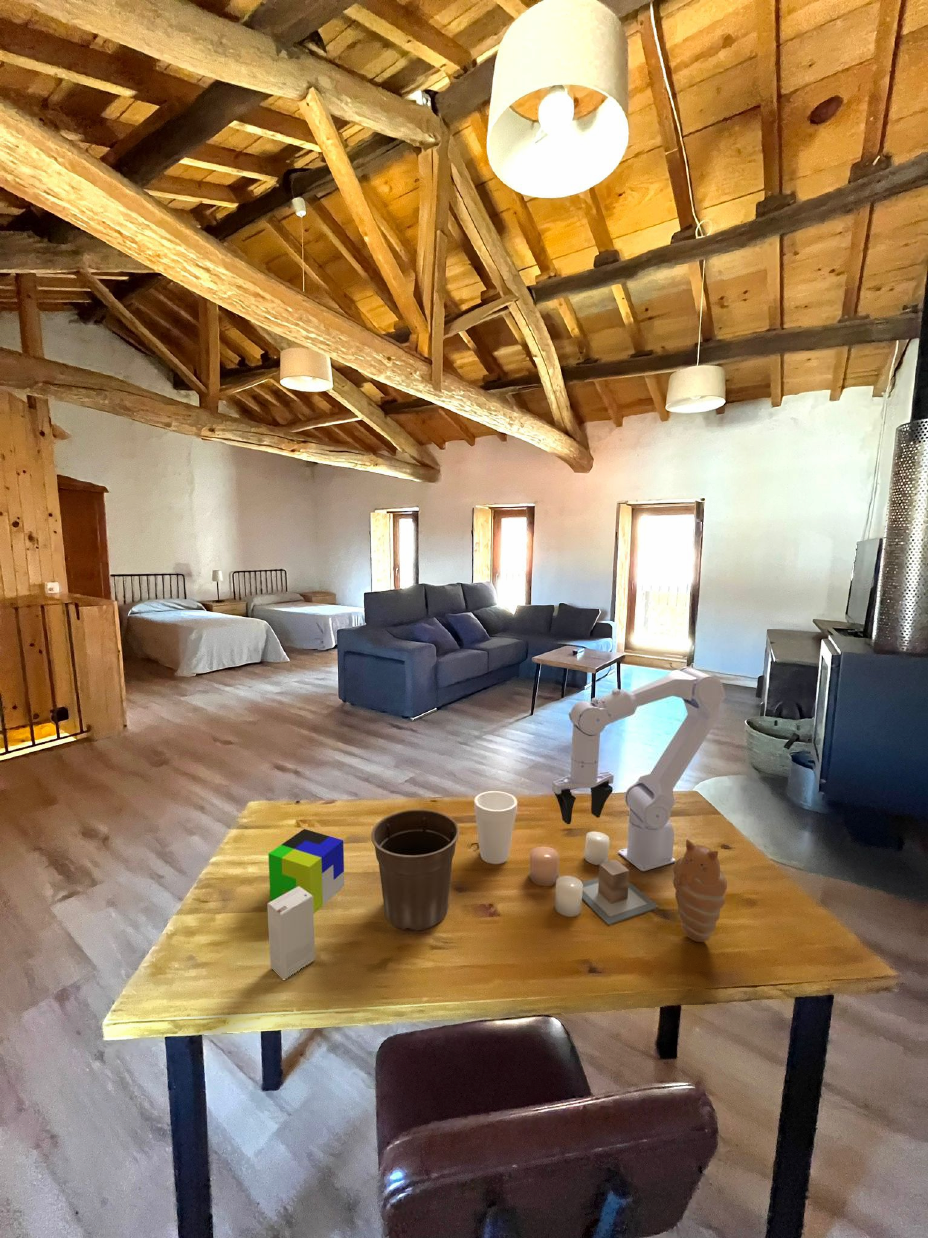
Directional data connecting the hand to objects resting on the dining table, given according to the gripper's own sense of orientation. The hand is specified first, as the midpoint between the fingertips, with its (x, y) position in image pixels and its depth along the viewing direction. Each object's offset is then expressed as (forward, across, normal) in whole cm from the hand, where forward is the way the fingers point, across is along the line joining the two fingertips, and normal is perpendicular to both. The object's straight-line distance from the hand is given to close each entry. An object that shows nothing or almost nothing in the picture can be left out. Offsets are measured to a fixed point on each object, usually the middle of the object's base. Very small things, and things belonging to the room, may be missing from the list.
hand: (581, 818), depth 116 cm
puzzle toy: (+12, +56, -13) cm, 58 cm away
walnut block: (+10, 0, +12) cm, 16 cm away
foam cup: (+11, +16, -10) cm, 21 cm away
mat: (+10, 0, +12) cm, 16 cm away
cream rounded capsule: (+10, +10, +11) cm, 19 cm away
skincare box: (+12, +60, +5) cm, 62 cm away
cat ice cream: (+10, -6, +27) cm, 30 cm away
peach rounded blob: (+10, +10, +1) cm, 14 cm away
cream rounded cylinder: (+10, -4, 0) cm, 11 cm away
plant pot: (+11, +38, 0) cm, 39 cm away
